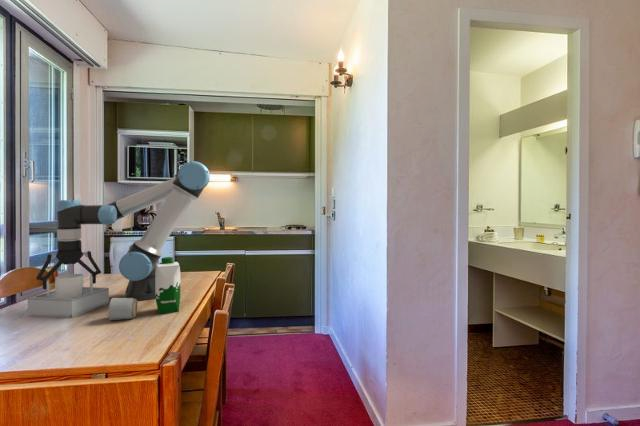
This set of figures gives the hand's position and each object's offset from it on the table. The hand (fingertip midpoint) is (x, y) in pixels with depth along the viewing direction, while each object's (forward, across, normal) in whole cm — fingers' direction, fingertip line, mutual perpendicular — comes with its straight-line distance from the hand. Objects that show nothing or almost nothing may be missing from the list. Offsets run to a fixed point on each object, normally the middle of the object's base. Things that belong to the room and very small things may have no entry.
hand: (70, 294), depth 135 cm
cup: (+5, 0, 0) cm, 5 cm away
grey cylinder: (+6, -15, +23) cm, 28 cm away
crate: (+6, 0, 0) cm, 6 cm away
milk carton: (+6, -30, +24) cm, 39 cm away
